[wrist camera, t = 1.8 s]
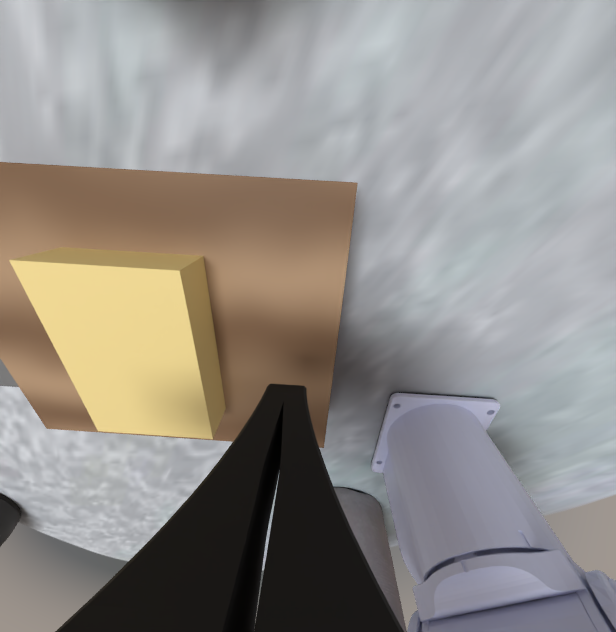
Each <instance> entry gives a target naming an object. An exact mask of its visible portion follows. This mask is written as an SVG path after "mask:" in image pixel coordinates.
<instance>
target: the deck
mask: <svg viewBox="0 0 616 632" xmlns="http://www.w3.org/2000/svg"><path fill="white" fill-rule="evenodd" d="M356 191H357V183H353V182H336V181H318V180H301V179H284V178H267V177H249V176H232V175H215V174H197V173H180V172H163V171H145V170H128V169H111V168H93V167H76V166H59V165H41V164H24V163H7V162H0V359H1V360H2V362H3V363H4V365H5V366H6V368H7V369H8V371H9V372H10V374H11V375H12V377H13V378H14V380H15V381H16V383H17V384H18V386H19V387H20V389H21V390H22V392H23V393H24V395H25V396H26V398H27V399H28V401H29V403H30V404H31V406H32V407H33V409H34V410H35V412H36V413H37V415H38V416H39V418H40V419H41V421H42V422H43V424H44V425H45V427H46V428H47V429H61V430H75V431H90V432H102V431H98V430H97V428H96V426H95V424H94V422H93V421H92V419H91V417H90V415H89V413H88V411H87V409H86V407H85V405H84V403H83V401H82V399H81V397H80V396H79V394H78V392H77V390H76V388H75V386H74V384H73V382H72V380H71V378H70V376H69V374H68V373H67V371H66V369H65V367H64V365H63V363H62V361H61V359H60V357H59V355H58V353H57V351H56V349H55V348H54V346H53V344H52V342H51V340H50V338H49V336H48V334H47V332H46V330H45V328H44V326H43V324H42V323H41V321H40V319H39V317H38V315H37V313H36V311H35V309H34V307H33V305H32V303H31V301H30V300H29V298H28V296H27V294H26V292H25V290H24V288H23V286H22V284H21V282H20V280H19V278H18V276H17V275H16V273H15V271H14V269H13V267H12V265H11V263H10V261H9V260H11V259H16V258H20V257H24V256H28V255H32V254H36V253H40V252H44V251H48V250H52V249H56V248H60V247H66V248H83V249H99V250H115V251H132V252H148V253H164V254H180V255H197V256H203V257H204V264H205V271H206V278H207V284H208V291H209V298H210V305H211V312H212V318H213V325H214V332H215V339H216V345H217V352H218V359H219V366H220V373H221V379H222V386H223V393H224V400H225V406H226V409H225V411H224V414H223V416H222V419H221V421H220V423H219V426H218V428H217V431H216V433H215V436H214V438H213V439H205V440H219V441H234V440H235V439H236V437H237V436H238V434H239V433H240V432H241V430H242V428H243V427H244V425H245V424H246V422H247V421H248V419H249V418H250V416H251V415H252V413H253V411H254V410H255V408H256V407H257V405H258V403H259V401H260V400H261V398H262V396H263V394H264V392H265V390H266V388H267V386H268V385H269V384H286V385H301V386H305V387H306V388H307V402H308V408H309V413H310V417H311V421H312V425H313V429H314V432H315V436H316V439H317V443H318V446H319V447H320V448H324V442H325V434H326V426H327V418H328V410H329V403H330V395H331V387H332V379H333V371H334V363H335V356H336V348H337V340H338V332H339V324H340V316H341V309H342V301H343V293H344V285H345V277H346V269H347V262H348V254H349V246H350V238H351V230H352V222H353V215H354V207H355V199H356ZM104 433H116V432H104ZM118 434H131V433H118ZM133 435H145V434H133ZM147 436H160V435H147ZM162 437H174V436H162ZM176 438H189V437H176ZM190 439H203V438H190Z"/></svg>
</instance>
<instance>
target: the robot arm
mask: <svg viewBox="0 0 616 632" xmlns="http://www.w3.org/2000/svg"><path fill="white" fill-rule="evenodd" d="M394 404H395V405H394ZM499 408H500V404H499V403H498V401H497V400H494V399H482V398H467V397H452V396H437V395H422V394H407V393H395V394H393V395H391V397H390V400H389V404H388V407H387V411H386V414H385V418H384V421H383V425H382V429H381V432H380V436H379V439H378V443H377V446H376V450H375V453H374V457H373V460H372V464H371V468H372V471H374V472H380V473H383V475H384V480H385V485H386V489H387V494H388V498H389V503H390V507H391V512H392V516H393V521H394V525H395V530H396V534H397V539H398V544H399V548H400V551H401V554H402V557H403V560H404V562H405V564H406V566H407V568H408V570H409V572H410V573H411V575H412V577H413V578H414V579H415V581H416V582H417V584H418V585H415V586H413V592H414V596H415V600H416V605H417V609H418V610H417V611H416V612H415V613H414V614H413V615H412V617H411V619H410V622H409V626H408V631H407V632H616V580H614V579H610V578H609V577H608V576H607V575H606V574H605V573H604V572H602V571H599V570H595V571H591V572H585V571H584V570H583V569H582V568H581V567H579V566H578V565H577V564H576V563H575V562H574V561H573V560H572V558H571V557H570V555H569V554H568V552H567V551H566V550H565V548H564V546H563V545H562V544H561V542H560V540H559V539H558V537H557V536H556V535H555V533H554V532H553V530H552V529H551V527H550V526H549V524H548V523H547V521H546V520H545V518H544V517H543V515H542V514H541V512H540V511H539V509H538V508H537V506H536V505H535V503H534V502H533V500H532V499H531V497H530V496H529V494H528V493H527V491H526V490H525V488H524V487H523V485H522V484H521V483H520V481H519V480H518V478H517V477H516V475H515V474H514V472H513V471H512V469H511V468H510V466H509V465H508V463H507V462H506V460H505V459H504V457H503V456H502V454H501V453H500V451H499V450H498V448H497V447H496V445H495V444H494V442H493V441H492V439H491V438H490V436H489V435H488V434H487V432H486V431H487V429H488V427H489V425H490V424H491V422H492V420H493V419H494V417H495V415H496V414H497V412H498V410H499ZM279 470H280V473H279ZM278 475H279V480H278ZM277 480H278V486H277V493H276V499H275V506H274V512H273V519H272V525H271V531H270V538H269V544H268V550H267V556H266V562H265V569H264V575H263V581H262V587H261V593H260V599H259V605H258V611H257V603H258V596H259V587H260V580H261V572H262V565H263V557H264V550H265V542H266V536H267V530H268V524H269V519H270V514H271V509H272V504H273V499H274V495H275V490H276V485H277ZM256 611H257V617H256ZM255 619H256V623H255ZM254 627H255V629H254ZM56 632H404V631H403V629H402V627H401V625H400V623H399V622H398V620H397V618H396V616H395V614H394V612H393V610H392V609H391V607H390V605H389V603H388V601H387V599H386V597H385V595H384V593H383V592H382V590H381V588H380V586H379V584H378V582H377V580H376V578H375V576H374V574H373V572H372V570H371V568H370V566H369V564H368V562H367V560H366V558H365V556H364V554H363V552H362V550H361V548H360V546H359V544H358V542H357V539H356V537H355V535H354V533H353V531H352V529H351V527H350V525H349V522H348V520H347V518H346V516H345V513H344V511H343V509H342V507H341V504H340V502H339V500H338V497H337V495H336V492H335V490H334V488H333V485H332V482H331V480H330V477H329V475H328V472H327V469H326V466H325V464H324V461H323V458H322V455H321V452H320V449H319V446H318V443H317V439H316V436H315V432H314V429H313V425H312V421H311V417H310V413H309V408H308V402H307V388H306V387H305V386H301V385H286V384H269V385H268V386H267V388H266V390H265V392H264V394H263V396H262V398H261V400H260V401H259V403H258V405H257V407H256V408H255V410H254V411H253V413H252V415H251V416H250V418H249V419H248V421H247V422H246V424H245V425H244V427H243V428H242V430H241V432H240V433H239V434H238V436H237V437H236V439H235V440H234V442H233V443H232V444H231V446H230V447H229V448H228V450H227V451H226V452H225V454H224V455H223V456H222V458H221V459H220V460H219V462H218V463H217V464H216V466H215V467H214V468H213V469H212V471H211V472H210V473H209V474H208V476H207V477H206V478H205V479H204V481H203V482H202V483H201V484H200V485H199V486H198V488H197V489H196V490H195V491H194V492H193V494H192V495H191V496H190V497H189V498H188V499H187V500H186V502H185V503H184V504H183V505H182V506H181V507H180V508H179V509H178V510H177V512H176V513H175V514H174V515H173V516H172V517H171V518H170V519H169V520H168V522H167V523H166V524H165V525H164V526H163V527H162V528H161V529H160V530H159V531H158V532H157V533H156V534H155V535H154V536H153V538H152V539H151V540H150V541H149V542H148V543H147V544H146V545H145V546H144V547H143V548H142V549H141V550H140V551H139V552H138V553H137V554H136V555H135V556H134V557H133V558H132V559H131V560H130V561H129V562H128V563H127V564H126V565H125V566H124V567H123V568H122V569H121V570H120V571H119V572H118V573H117V574H116V575H115V576H114V577H113V578H112V579H111V580H110V581H109V582H108V583H107V584H106V585H105V586H104V587H103V588H102V589H101V590H100V591H98V593H96V594H95V596H93V597H92V598H91V599H90V600H89V601H88V602H87V603H86V604H85V605H84V606H83V607H81V608H80V609H79V610H78V611H77V612H76V613H75V614H74V615H73V616H72V617H71V618H70V619H69V620H68V621H66V622H65V623H64V624H63V625H62V626H61V627H60V628H59V629H58V630H57V631H56Z"/></svg>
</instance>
